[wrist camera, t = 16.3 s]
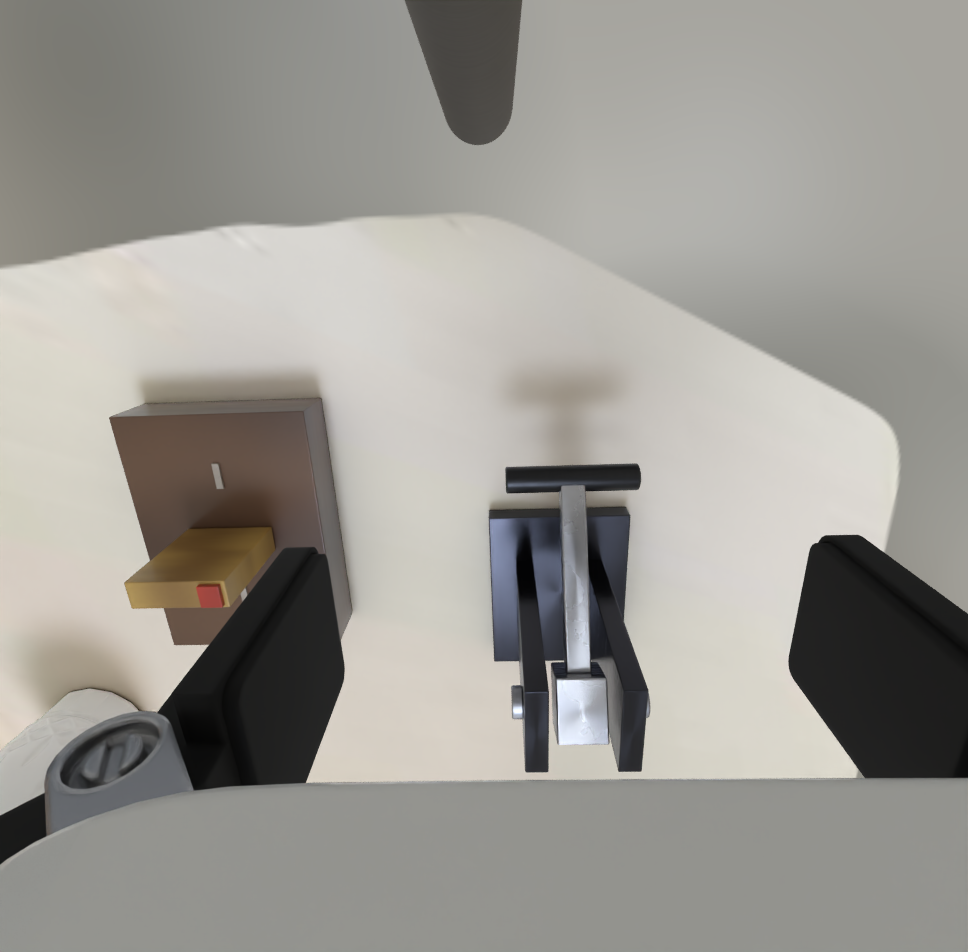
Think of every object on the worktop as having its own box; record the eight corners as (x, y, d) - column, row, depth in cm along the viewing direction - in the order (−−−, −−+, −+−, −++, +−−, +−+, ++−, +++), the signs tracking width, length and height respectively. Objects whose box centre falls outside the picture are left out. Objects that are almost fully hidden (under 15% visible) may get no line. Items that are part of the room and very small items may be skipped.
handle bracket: (489, 509, 32) (484, 635, 21) (625, 506, 32) (693, 631, 21) (494, 649, 36) (492, 819, 25) (617, 647, 35) (671, 818, 24)
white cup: (128, 671, 37) (3, 807, 28) (177, 756, 40) (79, 906, 30) (25, 691, 38) (-129, 829, 29) (81, 773, 41) (-44, 924, 31)
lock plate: (144, 403, 30) (106, 417, 27) (321, 397, 30) (302, 411, 27) (199, 615, 35) (172, 647, 32) (352, 613, 35) (339, 644, 32)
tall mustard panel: (194, 551, 30) (128, 612, 25) (188, 528, 30) (120, 585, 24) (276, 549, 30) (227, 610, 25) (271, 526, 29) (221, 583, 24)
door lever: (505, 468, 26) (505, 465, 24) (631, 465, 26) (644, 461, 24) (512, 722, 26) (513, 746, 23) (640, 721, 25) (655, 744, 23)
